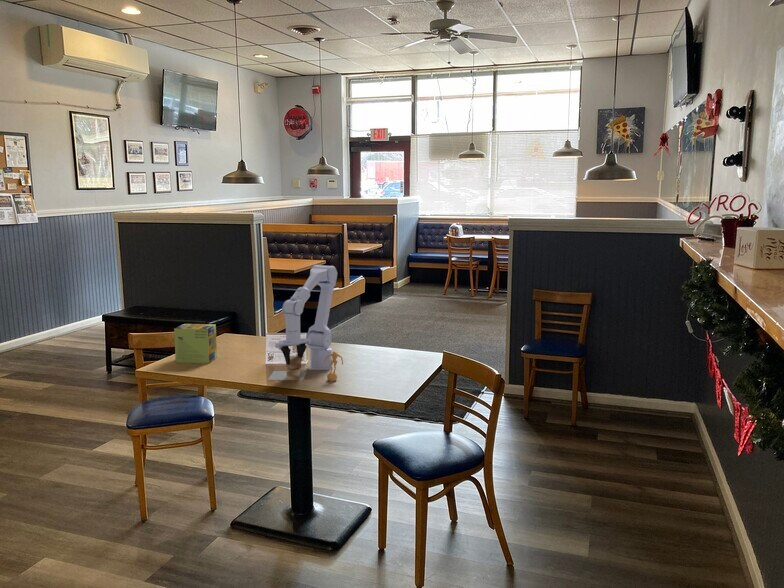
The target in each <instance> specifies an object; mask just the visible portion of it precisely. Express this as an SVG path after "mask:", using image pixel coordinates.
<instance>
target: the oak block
mask: <svg viewBox="0 0 784 588" xmlns="http://www.w3.org/2000/svg"><path fill="white" fill-rule="evenodd" d="M286 371H287V380H286V381H300V380H299V379H300V377H301V371H302V367H301V368H296V369H289V368H288V367H286Z"/></svg>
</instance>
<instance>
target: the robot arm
mask: <svg viewBox="0 0 784 588" xmlns="http://www.w3.org/2000/svg"><path fill="white" fill-rule="evenodd" d="M337 279H338V270H337V267H335V266H334V265H320V264H314V265H313V266H311V268H310V272H309V276H308V278H307V280H306V281H305V283H304V285H303V286H300V287H297V289H296V291H295V292H294V294H293V295H292V296H290V299H287V300H285V301H284V302H283V304H282V308H281V311H282V313H283V317H284V319H285V340H283V341H282V340H281V341H279V342H278V341H277V342H275V343H274V344H275V347H274V348H276V349H280V350H281V352H282V354H283V357H284V360H285V365H286V364H287V365H290V356H291V348H290V347H293V346H296V356H298V357H300V358H301V362H302V361H303V357H304V354H305V351H306V350H307V349H308V348H309V349H310V350H309V352H310V356H309V358H310V360H309V361H310V363H309V364H310V366H309V367H308V370H314V371H315V370H321V371H322V370H327V371H328V370H330V371H331V367H330V363H331V360H332V361H333V359H332V356H329V357H328V358H327V356H328V355H330V354H332V353H333V348H332V347H330V346H331V345H332V340H333V339H332V330H331V329H330V328H329V327H328V323H329V317H330V310H331V306H332V299H333V293H334V288H335V287H336V284H337ZM317 285H318V286H319V287H320V294H319V299H318V305H317V309H316V316H315V319H314V320H315V321H314V324H313V325H311V326H310V327H308V331H307V334H306V336H305V338H301V315H302V314H303V312H304V307H305V303H306V302H307V301H308V300H309V299H310V297H311V291H312V290H313V289H314V288H315V287H316V286H317ZM307 346H308V348H307ZM326 358H327V360H325V359H326ZM324 361H325V363H324Z"/></svg>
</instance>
